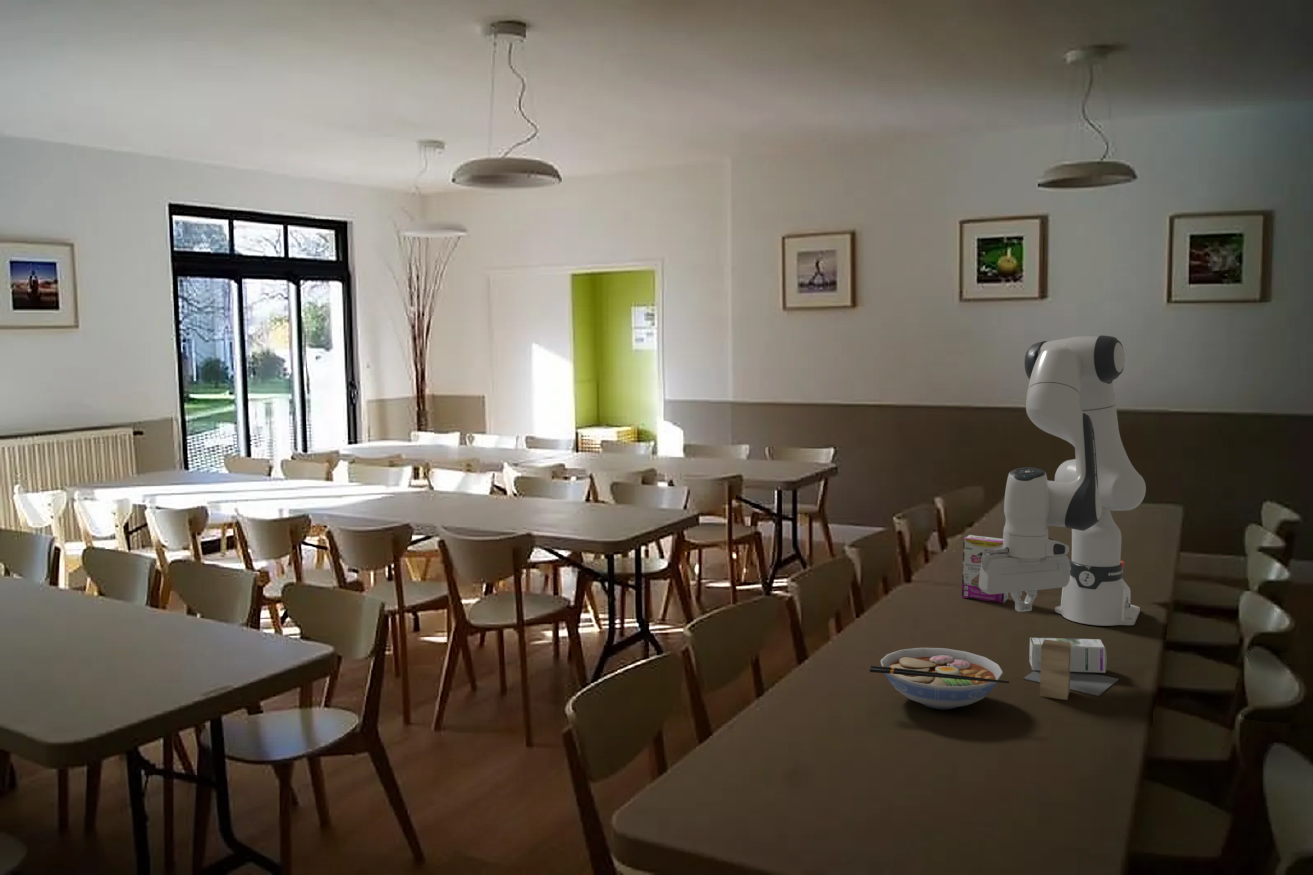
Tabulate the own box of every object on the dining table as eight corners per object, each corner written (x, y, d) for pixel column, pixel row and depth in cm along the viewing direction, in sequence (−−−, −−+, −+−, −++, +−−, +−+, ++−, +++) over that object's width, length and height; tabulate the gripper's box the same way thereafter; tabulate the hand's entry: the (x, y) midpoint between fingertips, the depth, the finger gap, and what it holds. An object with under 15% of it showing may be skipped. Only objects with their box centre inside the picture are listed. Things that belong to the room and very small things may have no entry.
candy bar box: (961, 598, 271) (962, 537, 269) (966, 593, 275) (967, 534, 273) (1004, 604, 265) (1005, 542, 263) (1008, 599, 269) (1010, 538, 267)
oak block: (1042, 687, 204) (1044, 639, 203) (1069, 691, 202) (1071, 642, 201) (1039, 695, 200) (1041, 646, 199) (1067, 699, 198) (1068, 650, 197)
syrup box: (1032, 671, 213) (1106, 674, 210) (1032, 644, 213) (1106, 647, 209) (1029, 662, 219) (1101, 665, 215) (1029, 635, 218) (1102, 638, 215)
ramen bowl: (1008, 689, 204) (1009, 649, 203) (1007, 733, 182) (1009, 689, 181) (881, 676, 212) (881, 638, 211) (866, 717, 190) (867, 674, 189)
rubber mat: (1045, 664, 218) (1045, 663, 218) (1118, 679, 208) (1118, 678, 208) (1023, 679, 209) (1023, 678, 209) (1098, 696, 199) (1098, 695, 199)
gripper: (991, 553, 207) (989, 619, 208) (1075, 545, 212) (1073, 610, 214) (973, 546, 213) (971, 611, 214) (1055, 539, 218) (1053, 602, 220)
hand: (1023, 610), depth 214 cm, fingers closed
